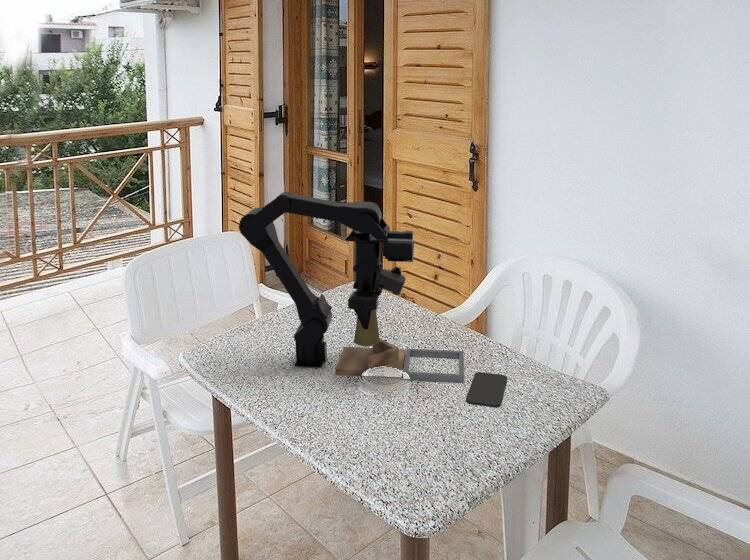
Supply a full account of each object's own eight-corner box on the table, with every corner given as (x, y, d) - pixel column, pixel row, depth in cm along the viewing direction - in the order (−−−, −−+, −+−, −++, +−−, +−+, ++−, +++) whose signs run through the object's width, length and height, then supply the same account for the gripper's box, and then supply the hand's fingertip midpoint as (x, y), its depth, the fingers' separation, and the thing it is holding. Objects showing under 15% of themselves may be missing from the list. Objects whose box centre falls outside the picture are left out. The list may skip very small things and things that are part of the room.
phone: (508, 375, 162) (500, 405, 148) (507, 378, 162) (500, 409, 149) (475, 371, 164) (464, 401, 150) (475, 374, 164) (464, 404, 151)
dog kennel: (335, 374, 163) (335, 356, 161) (343, 352, 175) (343, 335, 173) (401, 378, 161) (402, 359, 160) (405, 355, 173) (405, 338, 172)
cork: (377, 347, 163) (377, 301, 159) (351, 345, 164) (351, 299, 160) (382, 337, 168) (382, 292, 165) (357, 334, 170) (357, 290, 166)
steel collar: (402, 379, 161) (402, 373, 160) (406, 354, 174) (406, 348, 173) (463, 382, 159) (464, 376, 159) (463, 356, 172) (463, 351, 172)
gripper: (400, 274, 150) (398, 343, 155) (406, 249, 168) (404, 312, 173) (347, 272, 151) (347, 340, 156) (358, 247, 169) (358, 310, 174)
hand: (366, 325), depth 165 cm, fingers closed on cork, 4 cm apart
